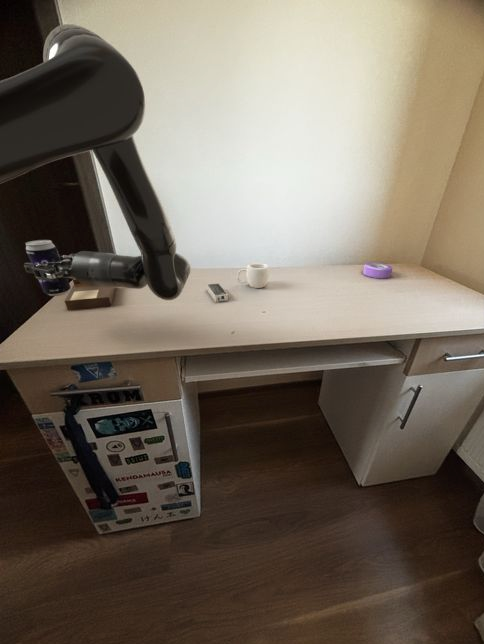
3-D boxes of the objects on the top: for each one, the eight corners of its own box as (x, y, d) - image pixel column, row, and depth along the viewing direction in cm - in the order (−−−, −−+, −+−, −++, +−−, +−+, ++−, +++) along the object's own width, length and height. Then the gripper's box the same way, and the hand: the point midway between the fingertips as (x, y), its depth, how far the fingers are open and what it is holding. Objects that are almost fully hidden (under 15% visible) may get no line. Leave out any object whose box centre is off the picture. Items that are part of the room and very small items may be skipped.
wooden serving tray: (67, 310, 85) (62, 296, 83) (77, 291, 98) (73, 278, 95) (111, 305, 89) (107, 292, 86) (115, 288, 101) (111, 275, 99)
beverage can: (44, 291, 70) (22, 241, 63) (70, 287, 73) (52, 238, 66) (46, 299, 66) (23, 246, 60) (73, 294, 69) (54, 243, 63)
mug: (267, 282, 112) (268, 262, 108) (269, 289, 105) (270, 269, 101) (237, 281, 111) (236, 261, 107) (237, 289, 104) (236, 268, 100)
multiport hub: (219, 289, 104) (218, 283, 103) (228, 300, 96) (228, 294, 94) (207, 290, 102) (206, 284, 101) (215, 302, 94) (215, 295, 93)
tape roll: (358, 270, 129) (360, 262, 127) (381, 270, 131) (383, 261, 129) (370, 279, 120) (373, 270, 118) (395, 278, 122) (398, 269, 119)
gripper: (117, 245, 68) (56, 240, 70) (73, 261, 56) (1, 255, 58) (125, 275, 72) (67, 270, 74) (85, 297, 60) (17, 289, 62)
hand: (38, 263), depth 66 cm, fingers closed on beverage can, 5 cm apart
